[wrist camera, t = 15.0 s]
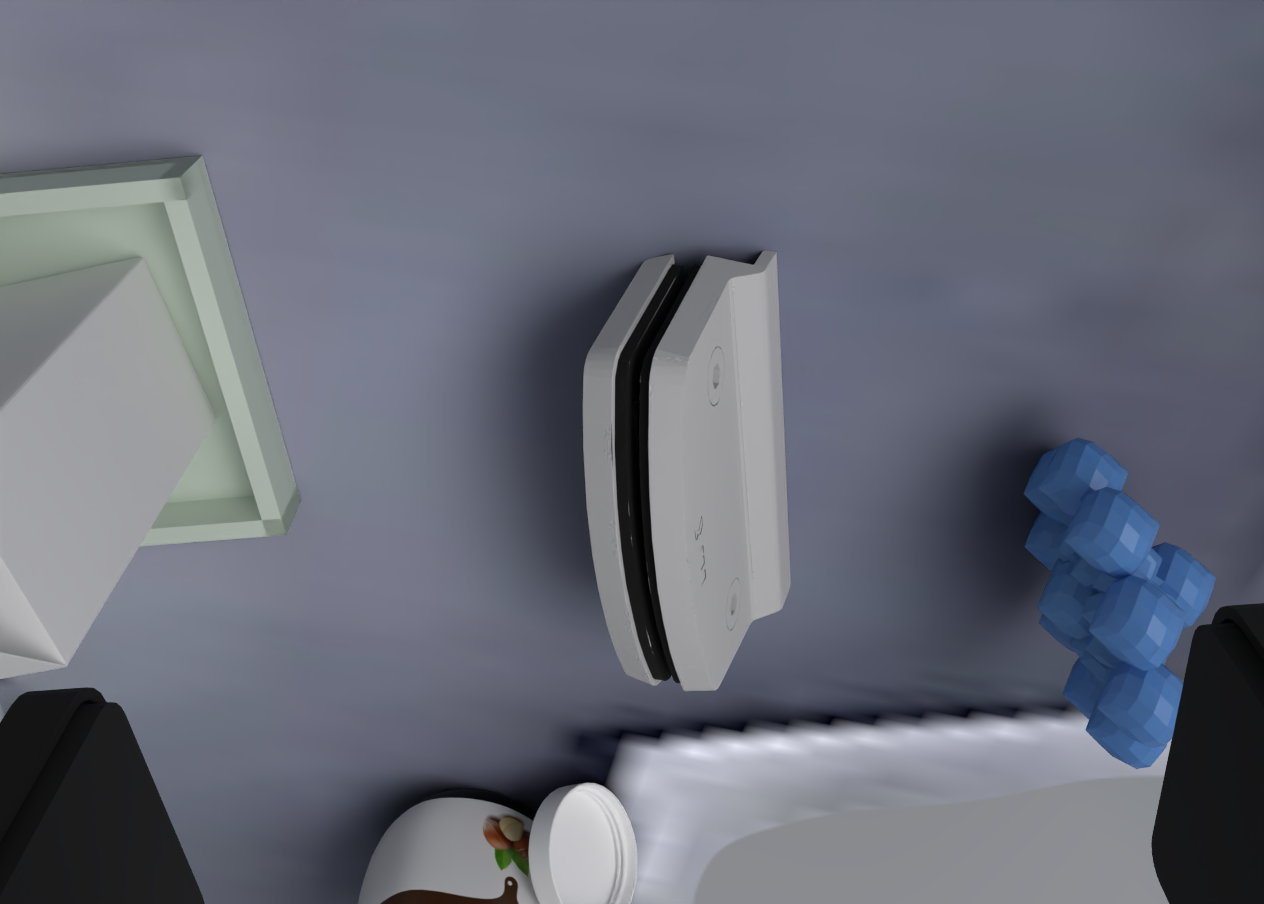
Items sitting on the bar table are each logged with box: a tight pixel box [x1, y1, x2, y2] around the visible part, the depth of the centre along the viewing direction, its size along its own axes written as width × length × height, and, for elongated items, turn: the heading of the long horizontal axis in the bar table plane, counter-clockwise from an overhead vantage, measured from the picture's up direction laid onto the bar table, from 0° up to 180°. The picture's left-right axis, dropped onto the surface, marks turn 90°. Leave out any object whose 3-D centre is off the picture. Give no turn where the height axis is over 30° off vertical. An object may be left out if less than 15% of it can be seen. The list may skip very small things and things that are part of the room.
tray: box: [0, 156, 301, 546], centre depth 45 cm, size 15×12×2 cm
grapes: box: [1024, 438, 1216, 769], centre depth 45 cm, size 12×7×12 cm, turn 12°
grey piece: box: [583, 251, 791, 691], centre depth 45 cm, size 17×5×10 cm, turn 6°
